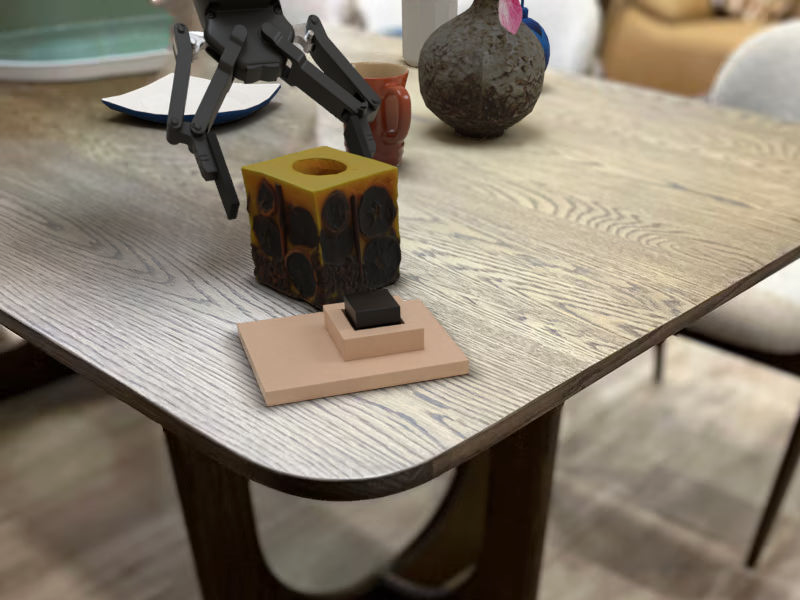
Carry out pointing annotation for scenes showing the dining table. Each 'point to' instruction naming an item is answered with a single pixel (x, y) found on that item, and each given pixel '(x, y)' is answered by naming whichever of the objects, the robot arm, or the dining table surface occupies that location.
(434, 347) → the tan stepped platform
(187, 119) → the plate
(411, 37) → the jar
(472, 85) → the vase
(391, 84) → the mug
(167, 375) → the dining table surface
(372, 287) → the candle
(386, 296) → the key
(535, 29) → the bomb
